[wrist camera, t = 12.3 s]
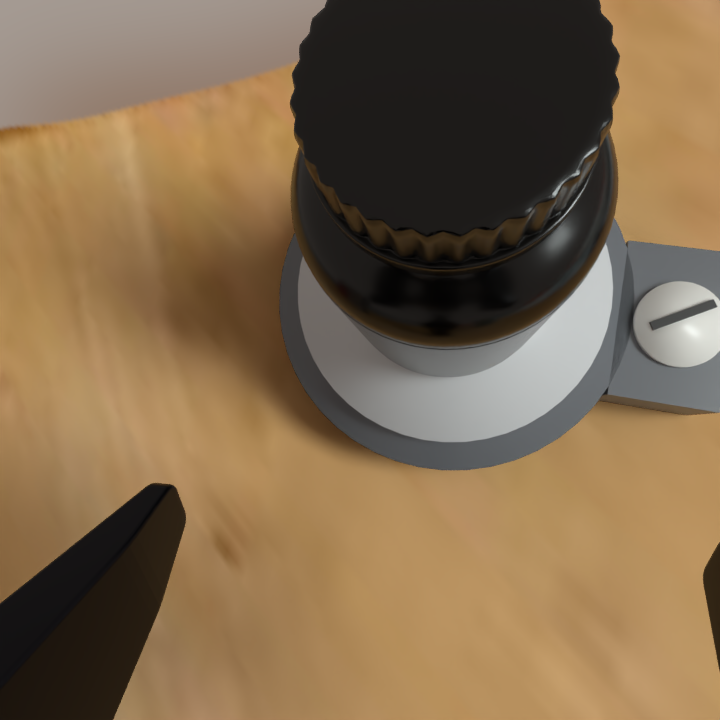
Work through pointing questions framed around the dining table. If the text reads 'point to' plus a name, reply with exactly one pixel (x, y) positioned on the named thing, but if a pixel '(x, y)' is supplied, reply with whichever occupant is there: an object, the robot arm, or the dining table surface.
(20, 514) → the dining table surface
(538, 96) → the supplement bottle
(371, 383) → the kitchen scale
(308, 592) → the dining table surface
